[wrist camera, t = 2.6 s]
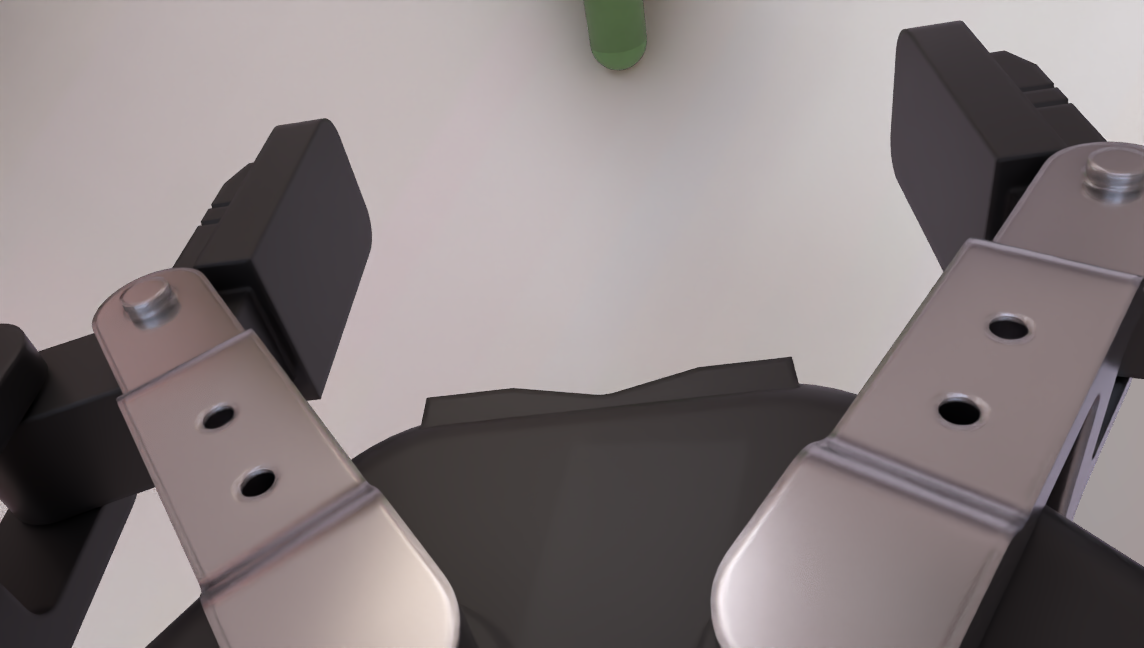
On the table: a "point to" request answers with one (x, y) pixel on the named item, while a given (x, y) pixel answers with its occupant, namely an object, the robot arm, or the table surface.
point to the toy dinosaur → (616, 31)
